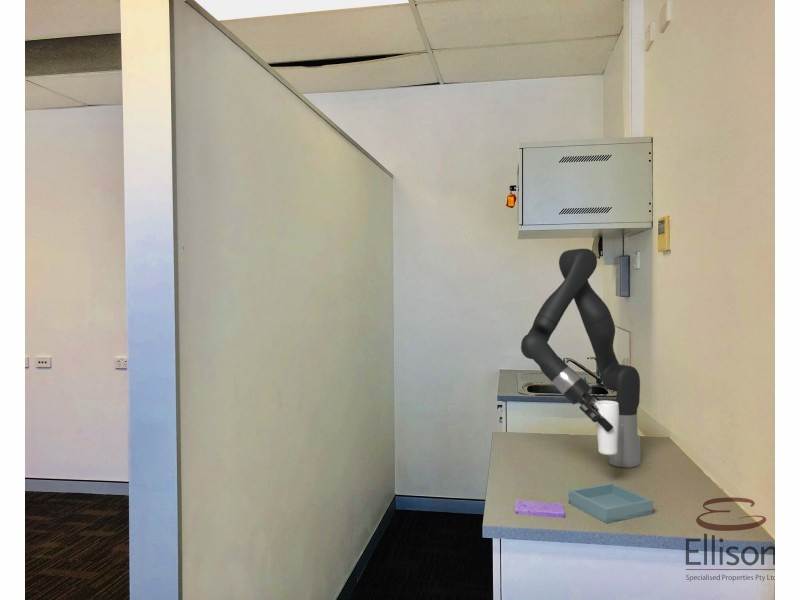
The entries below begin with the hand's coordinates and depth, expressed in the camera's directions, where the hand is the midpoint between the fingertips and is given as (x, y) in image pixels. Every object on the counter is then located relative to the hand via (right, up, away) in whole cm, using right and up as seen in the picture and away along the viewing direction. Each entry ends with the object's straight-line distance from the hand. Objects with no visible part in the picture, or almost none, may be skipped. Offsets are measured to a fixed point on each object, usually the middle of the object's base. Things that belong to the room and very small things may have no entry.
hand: (612, 426), depth 166 cm
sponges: (-25, -20, -16) cm, 36 cm away
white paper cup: (-1, -8, +1) cm, 8 cm away
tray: (-7, -18, -15) cm, 25 cm away
